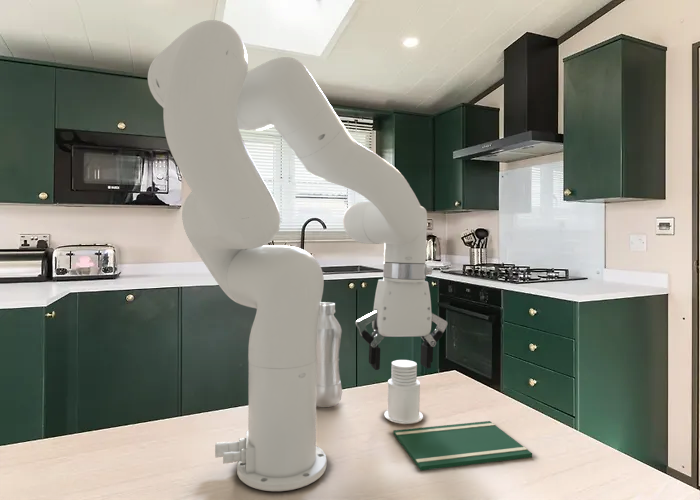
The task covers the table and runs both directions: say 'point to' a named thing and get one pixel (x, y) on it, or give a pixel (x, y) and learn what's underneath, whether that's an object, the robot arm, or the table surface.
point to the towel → (459, 445)
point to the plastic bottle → (328, 357)
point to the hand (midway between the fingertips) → (400, 367)
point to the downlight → (403, 393)
